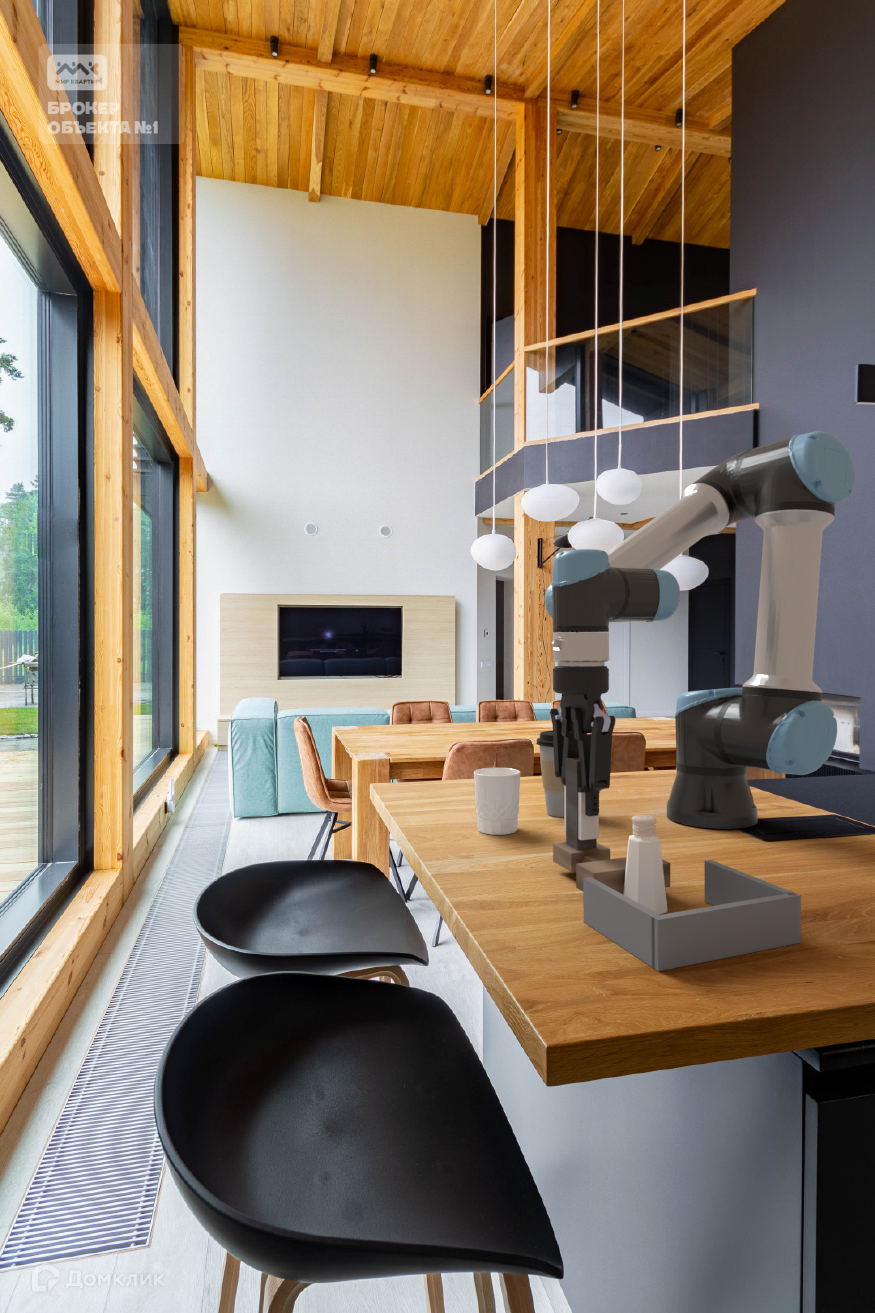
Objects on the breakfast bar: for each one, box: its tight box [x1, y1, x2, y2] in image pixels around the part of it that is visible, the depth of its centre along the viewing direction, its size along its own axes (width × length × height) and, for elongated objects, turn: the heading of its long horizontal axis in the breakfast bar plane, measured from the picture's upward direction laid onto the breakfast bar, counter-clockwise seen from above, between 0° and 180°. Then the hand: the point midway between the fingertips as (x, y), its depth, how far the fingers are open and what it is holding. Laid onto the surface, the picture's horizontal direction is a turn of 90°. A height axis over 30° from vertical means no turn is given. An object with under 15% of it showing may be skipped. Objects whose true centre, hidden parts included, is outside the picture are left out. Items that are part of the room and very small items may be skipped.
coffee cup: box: [535, 730, 564, 818], centre depth 135 cm, size 9×9×15 cm
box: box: [582, 859, 802, 972], centre depth 80 cm, size 18×14×5 cm
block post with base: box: [552, 757, 671, 894], centre depth 95 cm, size 11×14×14 cm
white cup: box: [473, 767, 521, 836], centre depth 124 cm, size 8×8×10 cm
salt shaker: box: [623, 813, 668, 915], centre depth 87 cm, size 5×5×11 cm
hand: (581, 834), depth 100 cm, fingers closed on block post with base, 3 cm apart
